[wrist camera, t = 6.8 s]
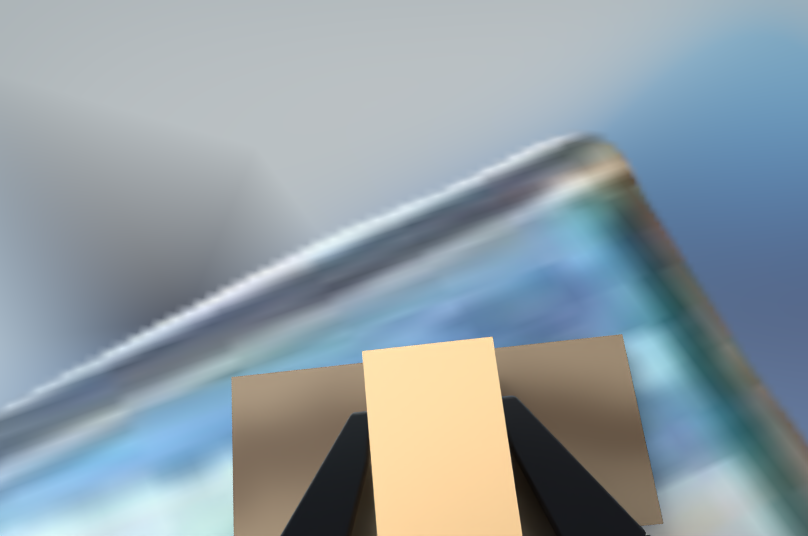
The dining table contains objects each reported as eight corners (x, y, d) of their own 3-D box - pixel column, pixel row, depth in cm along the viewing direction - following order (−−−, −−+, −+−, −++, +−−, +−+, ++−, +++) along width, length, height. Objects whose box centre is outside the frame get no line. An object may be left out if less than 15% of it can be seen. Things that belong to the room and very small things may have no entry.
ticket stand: (635, 509, 21) (707, 546, 16) (256, 548, 21) (198, 598, 16) (601, 341, 23) (654, 323, 17) (252, 379, 23) (199, 373, 18)
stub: (495, 587, 11) (564, 783, 6) (412, 596, 11) (394, 799, 6) (465, 365, 13) (495, 336, 7) (390, 373, 13) (358, 351, 7)
